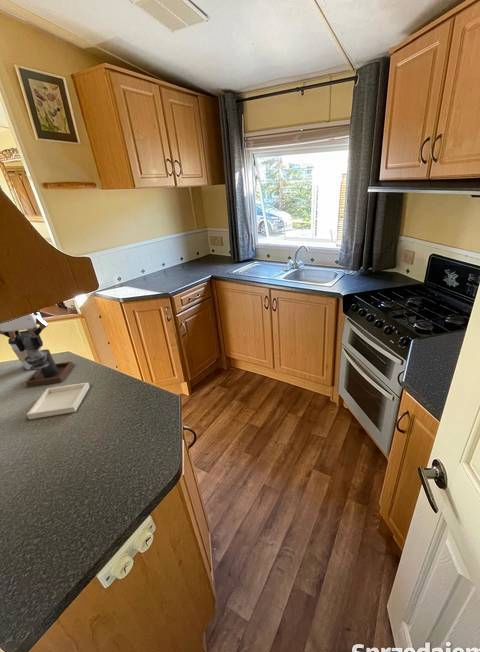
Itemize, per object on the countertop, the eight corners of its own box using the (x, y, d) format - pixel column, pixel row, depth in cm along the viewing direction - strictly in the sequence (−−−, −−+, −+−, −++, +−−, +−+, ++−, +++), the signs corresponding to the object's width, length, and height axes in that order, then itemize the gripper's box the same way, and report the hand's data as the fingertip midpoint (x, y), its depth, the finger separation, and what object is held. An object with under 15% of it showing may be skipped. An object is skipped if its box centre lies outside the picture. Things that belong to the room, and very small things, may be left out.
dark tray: (27, 386, 108) (25, 382, 107) (42, 369, 118) (40, 365, 117) (61, 381, 110) (59, 377, 109) (73, 365, 120) (72, 361, 119)
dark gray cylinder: (41, 379, 111) (30, 357, 107) (47, 372, 116) (37, 350, 111) (55, 377, 112) (45, 355, 108) (61, 370, 116) (51, 348, 112)
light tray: (29, 419, 92) (26, 414, 91) (49, 392, 104) (46, 388, 103) (75, 411, 94) (73, 406, 93) (89, 386, 106) (88, 382, 105)
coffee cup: (27, 373, 116) (11, 340, 110) (18, 367, 121) (1, 335, 114) (52, 362, 123) (37, 331, 117) (42, 357, 128) (27, 326, 121)
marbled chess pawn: (55, 362, 95) (40, 330, 90) (35, 372, 90) (19, 338, 85) (44, 359, 97) (29, 327, 92) (25, 368, 92) (8, 335, 87)
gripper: (44, 285, 87) (65, 339, 96) (-19, 292, 85) (9, 346, 93) (31, 293, 81) (55, 350, 89) (-38, 300, 78) (-6, 358, 86)
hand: (31, 348), depth 91 cm, fingers closed on marbled chess pawn, 3 cm apart
